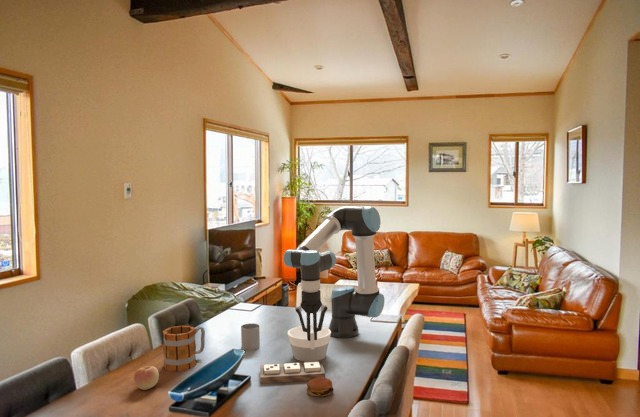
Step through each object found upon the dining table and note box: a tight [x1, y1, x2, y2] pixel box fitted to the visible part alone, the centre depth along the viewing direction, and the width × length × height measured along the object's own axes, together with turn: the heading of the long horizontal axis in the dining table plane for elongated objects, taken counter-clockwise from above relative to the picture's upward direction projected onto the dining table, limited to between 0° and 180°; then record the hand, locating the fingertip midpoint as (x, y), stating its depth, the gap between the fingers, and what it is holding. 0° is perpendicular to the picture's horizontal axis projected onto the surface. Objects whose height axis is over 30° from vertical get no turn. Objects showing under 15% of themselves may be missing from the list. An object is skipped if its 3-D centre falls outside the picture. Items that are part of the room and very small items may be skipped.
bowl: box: [286, 324, 331, 363], centre depth 212 cm, size 19×19×11 cm
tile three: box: [263, 363, 280, 374], centre depth 191 cm, size 6×6×4 cm
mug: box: [162, 325, 206, 372], centre depth 206 cm, size 20×14×15 cm
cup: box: [240, 323, 261, 351], centre depth 224 cm, size 8×8×10 cm
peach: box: [133, 365, 160, 391], centre depth 182 cm, size 9×9×8 cm
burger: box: [306, 377, 335, 398], centre depth 176 cm, size 10×9×5 cm
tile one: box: [303, 361, 321, 372], centre depth 193 cm, size 6×6×4 cm
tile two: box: [283, 362, 300, 373], centre depth 192 cm, size 6×6×4 cm
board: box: [259, 361, 326, 385], centre depth 192 cm, size 25×12×2 cm, turn 97°
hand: (312, 348), depth 192 cm, fingers closed
